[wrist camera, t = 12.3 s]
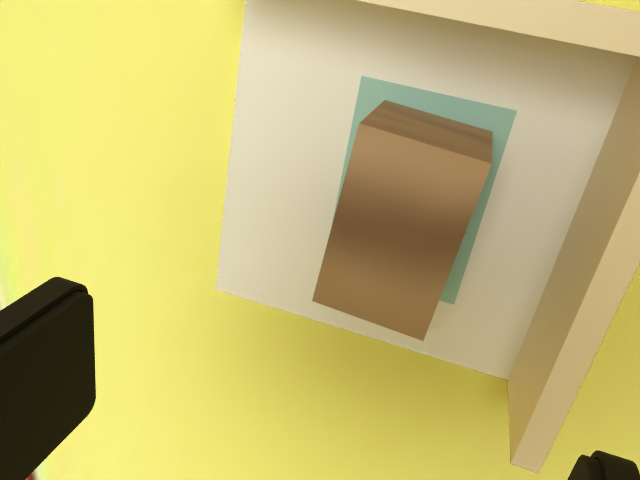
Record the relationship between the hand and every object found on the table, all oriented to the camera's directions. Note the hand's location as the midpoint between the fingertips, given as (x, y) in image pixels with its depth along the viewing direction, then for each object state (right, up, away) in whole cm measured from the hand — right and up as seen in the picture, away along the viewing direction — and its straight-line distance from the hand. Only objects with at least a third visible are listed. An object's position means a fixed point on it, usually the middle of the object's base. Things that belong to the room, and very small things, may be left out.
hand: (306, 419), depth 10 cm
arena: (+4, +6, +17) cm, 19 cm away
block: (+5, +5, +17) cm, 18 cm away
